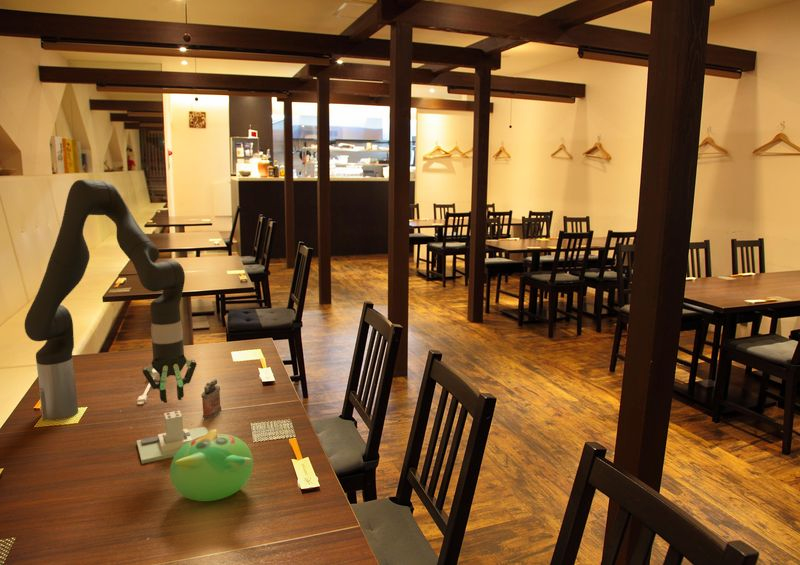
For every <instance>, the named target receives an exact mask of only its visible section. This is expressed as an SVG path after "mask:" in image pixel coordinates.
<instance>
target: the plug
mask: <svg viewBox="0 0 800 565" xmlns="http://www.w3.org/2000/svg"><path fill="white" fill-rule="evenodd" d="M163 415H164V416H163V418H164V419H163V420H164V430H165V431H164V433H166V442H167V443H172V442H177V441H181V440H184V436H183V429H184V426H183V415H182V412H181V410H174V411H170V412H164V413H163Z"/></svg>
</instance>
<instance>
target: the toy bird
mask: <svg viewBox="0 0 800 565" xmlns="http://www.w3.org/2000/svg"><path fill="white" fill-rule="evenodd" d="M172 458H173V459H172V460H171V463H170V468H169V469H170V471H169V472H170V475H169V476H170V479H171V482H172V485H173V487H174V488H175V490H176V491H177V492H178V493H179V494H180V495H181V496H183V497H185V498H187V499H188V500H193V501H198V502H214V501H218V500H219V501H220V500H222V499H223V500H224V499H225V498H228V497H230V496H232V495H234V494H236V493H237V492H238V491H240V490H241V489H242V488H243V487H244V486H245V485H246V484H247V483H248V481H249V480H250V477H251V475H252V472H253V468H254V460H253V459H254V458H253V454H252V451H251V450H250V448H249V446H248V445H247V444H246V442H244V441H243V440H242V439H241V438H239V437H236V436H235V435H231V434H226V433H218V429H216V428H214V429H213V428H212V429H211V430H208V433H207V434H206V435H204V436H201V437H198V438H195V439H193V440H191V441H189V442H188V443H186V444H185V445H184V446H182V447H181V448H180V449H179V450H178V452H177V453H176V455H175V456H174V457H172Z"/></svg>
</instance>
